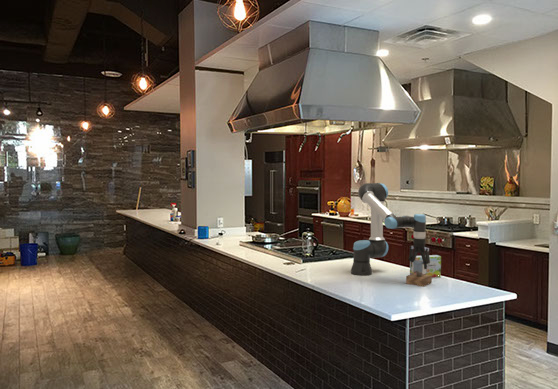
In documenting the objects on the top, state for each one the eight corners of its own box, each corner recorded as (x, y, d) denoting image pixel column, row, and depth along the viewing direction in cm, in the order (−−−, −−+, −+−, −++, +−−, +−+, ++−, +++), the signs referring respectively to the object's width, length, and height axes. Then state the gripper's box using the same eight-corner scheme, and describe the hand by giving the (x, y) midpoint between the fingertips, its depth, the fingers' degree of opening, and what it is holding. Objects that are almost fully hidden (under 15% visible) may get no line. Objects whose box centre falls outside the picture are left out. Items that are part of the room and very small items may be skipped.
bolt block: (406, 283, 316) (406, 263, 316) (414, 280, 325) (414, 261, 325) (423, 286, 308) (423, 266, 308) (431, 283, 317) (431, 263, 317)
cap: (417, 268, 321) (417, 259, 321) (426, 270, 316) (426, 261, 316) (411, 270, 317) (411, 260, 316) (420, 271, 312) (420, 262, 311)
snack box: (413, 279, 330) (414, 257, 330) (409, 277, 336) (409, 255, 335) (441, 277, 336) (441, 255, 335) (436, 275, 341) (436, 254, 341)
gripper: (403, 236, 321) (402, 271, 322) (429, 240, 305) (429, 276, 307) (409, 235, 325) (409, 269, 327) (436, 239, 310) (435, 274, 311)
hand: (418, 272), depth 317 cm, fingers closed on cap, 7 cm apart
